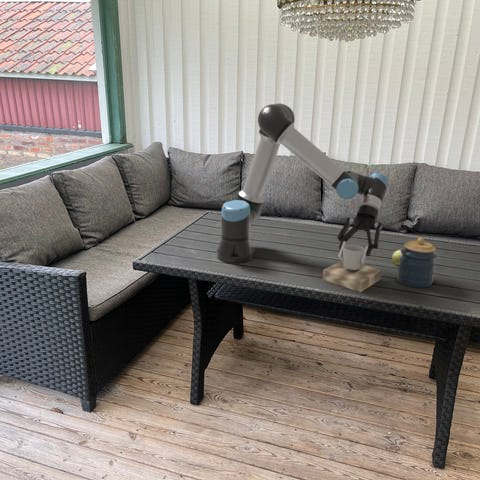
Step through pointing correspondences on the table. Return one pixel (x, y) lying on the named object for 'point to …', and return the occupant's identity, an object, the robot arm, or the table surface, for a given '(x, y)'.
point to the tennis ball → (396, 256)
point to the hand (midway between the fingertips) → (350, 260)
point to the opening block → (352, 276)
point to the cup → (352, 256)
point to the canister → (417, 264)
